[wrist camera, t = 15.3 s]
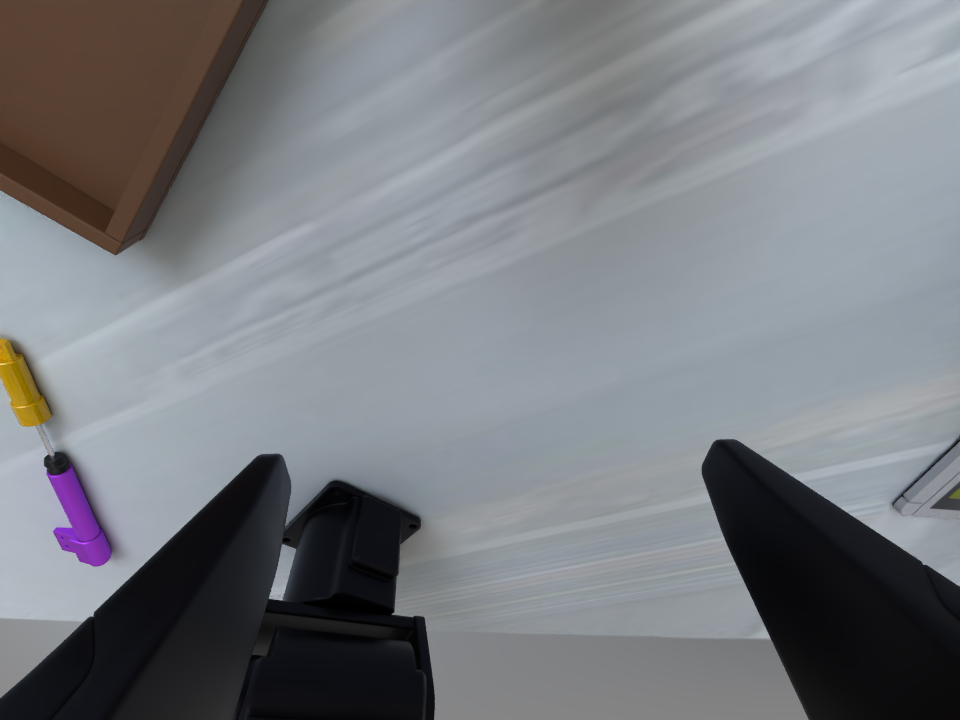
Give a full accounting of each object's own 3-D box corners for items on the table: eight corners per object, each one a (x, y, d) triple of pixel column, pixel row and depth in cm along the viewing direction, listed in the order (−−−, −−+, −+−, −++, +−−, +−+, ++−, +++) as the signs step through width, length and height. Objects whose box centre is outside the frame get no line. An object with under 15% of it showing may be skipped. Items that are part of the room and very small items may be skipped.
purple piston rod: (118, 555, 28) (25, 335, 20) (102, 572, 27) (-3, 349, 19) (77, 545, 28) (-32, 322, 20) (60, 562, 27) (-64, 335, 19)
